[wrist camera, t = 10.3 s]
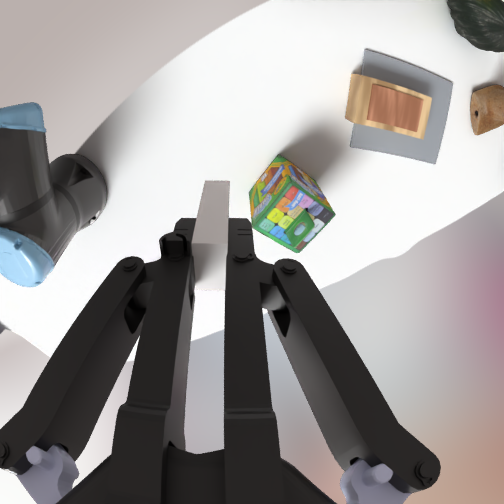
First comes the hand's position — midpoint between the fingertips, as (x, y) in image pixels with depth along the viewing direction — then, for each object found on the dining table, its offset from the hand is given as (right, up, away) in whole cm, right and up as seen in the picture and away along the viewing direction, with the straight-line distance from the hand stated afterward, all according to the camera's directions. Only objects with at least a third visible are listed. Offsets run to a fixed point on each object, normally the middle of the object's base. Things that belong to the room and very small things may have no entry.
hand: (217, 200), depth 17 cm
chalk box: (+8, +8, +32) cm, 34 cm away
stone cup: (+52, +29, +19) cm, 63 cm away
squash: (+43, +43, +8) cm, 61 cm away
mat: (+30, +22, +22) cm, 43 cm away
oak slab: (+18, +21, +19) cm, 33 cm away
